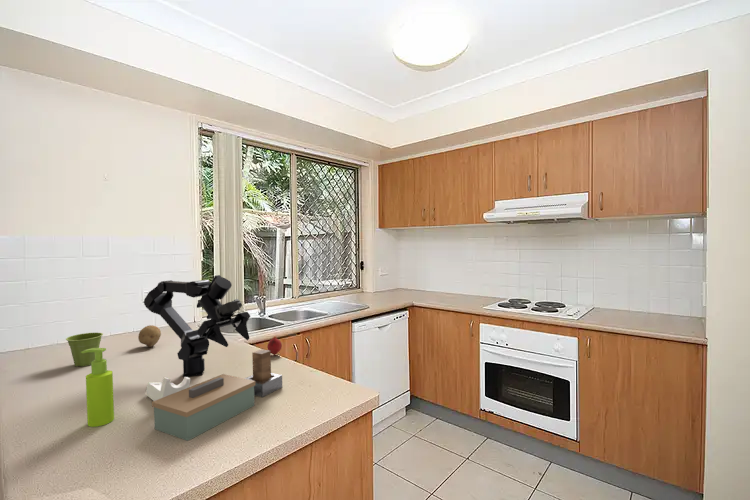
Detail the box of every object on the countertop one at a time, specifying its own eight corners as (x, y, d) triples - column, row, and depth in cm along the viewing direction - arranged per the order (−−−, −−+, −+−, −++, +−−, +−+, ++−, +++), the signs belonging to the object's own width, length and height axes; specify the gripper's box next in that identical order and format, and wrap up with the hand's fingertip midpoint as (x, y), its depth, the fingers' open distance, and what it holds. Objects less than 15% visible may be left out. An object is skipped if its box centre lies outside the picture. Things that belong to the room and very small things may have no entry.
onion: (278, 357, 159) (277, 338, 159) (265, 356, 160) (264, 337, 160) (284, 353, 165) (283, 334, 164) (271, 352, 166) (271, 334, 166)
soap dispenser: (92, 417, 107) (90, 346, 106) (118, 416, 108) (116, 345, 107) (78, 427, 101) (75, 352, 100) (105, 426, 102) (103, 351, 101)
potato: (153, 349, 172) (153, 327, 172) (134, 350, 172) (133, 327, 172) (165, 344, 181) (164, 323, 181) (146, 344, 181) (145, 323, 181)
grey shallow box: (241, 392, 123) (241, 379, 123) (262, 382, 131) (261, 371, 131) (262, 397, 119) (262, 384, 119) (282, 387, 127) (282, 375, 127)
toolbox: (152, 429, 100) (151, 394, 99) (236, 390, 124) (235, 362, 124) (187, 441, 93) (186, 404, 93) (268, 398, 118) (267, 368, 118)
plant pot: (59, 367, 150) (58, 338, 150) (92, 358, 161) (91, 331, 161) (79, 370, 146) (78, 341, 146) (110, 361, 157) (109, 333, 156)
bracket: (184, 404, 117) (190, 379, 118) (160, 405, 112) (166, 379, 113) (168, 393, 126) (174, 369, 127) (145, 394, 121) (151, 369, 122)
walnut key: (253, 390, 124) (252, 352, 124) (262, 386, 128) (261, 349, 127) (262, 392, 122) (261, 354, 122) (271, 388, 126) (270, 350, 126)
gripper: (202, 296, 124) (227, 333, 119) (245, 289, 141) (269, 321, 136) (186, 319, 128) (211, 356, 123) (231, 309, 144) (254, 341, 140)
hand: (238, 342), depth 130 cm, fingers open, 9 cm apart
